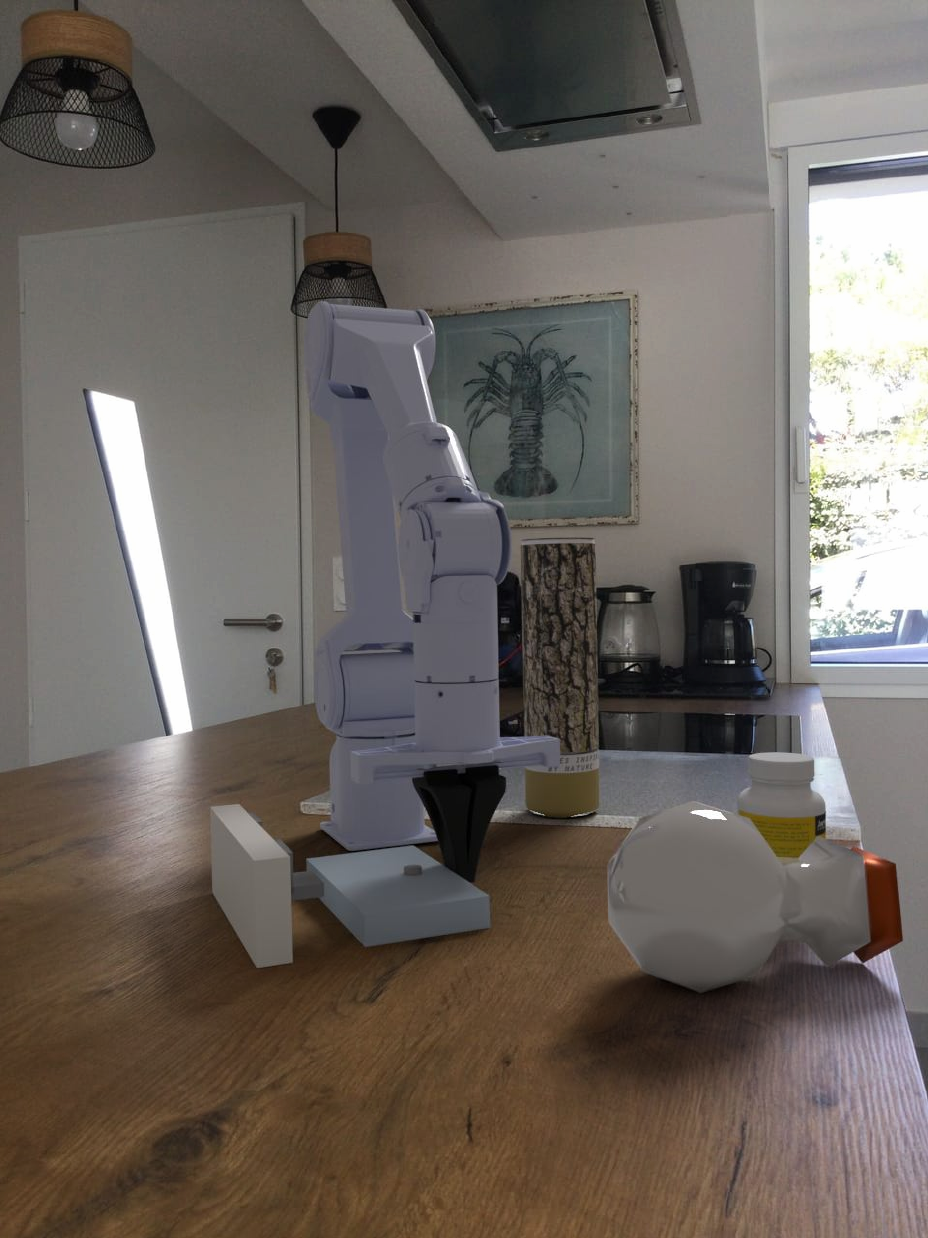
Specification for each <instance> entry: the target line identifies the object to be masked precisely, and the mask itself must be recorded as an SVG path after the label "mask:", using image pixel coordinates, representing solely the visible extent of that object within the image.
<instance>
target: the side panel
mask: <svg viewBox="0 0 928 1238" xmlns="http://www.w3.org/2000/svg"><path fill="white" fill-rule="evenodd" d="M209 814H210V815H209V817H210V818H209V819H210V820H209V822H210V824H209V825H210V849H211V850H210V851H211V852H210V854H211V855H210V856H211V858H210V859H211V887H212V889H211V890H212V891H211V892H212V894H213V896H214V898H215V900H216V902H217V903H218V905H219V906H220V909H221V910H222V911H223V913H224V915H225V917H226V919H227V920H228V921H229V923H230V925H231V927H232V928H233V930H234V932H235V933H236V935H237V937H238V939H239V940H240V942H241V944H242V946H243V947H244V948H245V950H246V952H247V954H248V955H249V957H250V959H251V961H252V962H253V964H254V966H255V967H256V968H257V969H261V968H262V969H263V968H268V967H273V966H274V967H275V966H282V965H287V964H293V958H294V957H293V929H292V928H293V927H292V926H293V924H292V923H293V922H292V921H293V920H292V918H293V916H292V915H293V914H292V901H301V900H308V899H316V898H318V897H324V883H323V882H322V881H321V880H320V879H319V878H318V877H317V876H316V875H315V874H314V873H313V872H312V871H307V870H306V871H297V872H294V857H293V855H294V853H293V851H292V850H291V849H290V848H289V846H288V845H287V844H285V842H284V841H283V840H282V839H281V838H277V839H274V838H273V837H272V836H271V835H270V834H269V833H268V832H267V831H266V830H265V829H264V828H263V821H262V820H261V819H260V818H259V817H258V816H257V815H256V814H255V813H254V812H248V811H246V809H244V807H243V806H242V805H241V804H239V803H235V804H234V803H233V804H227V805H225V804H223V805H214V806H209Z"/></svg>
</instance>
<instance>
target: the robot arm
mask: <svg viewBox="0 0 928 1238" xmlns="http://www.w3.org/2000/svg"><path fill="white" fill-rule="evenodd" d="M305 326H306V327H305V336H304V337H305V339H304V342H305V343H304V364H305V378H306V379H305V380H306V390H307V391H306V392H307V398H308V399H309V404H310V405H309V406H310V412H312V413H313V414H314V415H316V416H318V418H321V419H322V420H324V421H325V422H327V423H328V427H329V431H330V438H331V444H332V449H333V454H334V455H333V456H334V470H335V481H336V482H335V483H336V494H337V495H336V496H337V507H338V508H337V509H338V521H339V535H340V549H341V561H342V572H343V573H342V574H343V585H344V586H343V588H344V600H345V601H344V603H345V611H346V613H345V616H344V617H342V618H341V619H340V620H338V622H336V623H335V624H334V625H332V627H330V628H329V629H328V630H327V631H325V633H323V634H322V635H321V637H320V638H319V641H318V642H317V644H316V645H317V646H316V647H315V671H314V685H313V686H314V687H313V690H314V691H313V692H314V702H315V703H314V705H315V709H316V712H317V713H316V714H317V717H318V719H319V721H320V722H321V724H323V726H324V727H325V729H327V730H328V731H330V732H332V733H334V734H335V735H336V737H335V738H336V740H335V742H334V743H333V746H332V748H331V750H330V754H329V791H330V792H329V793H330V796H329V797H330V799H329V800H330V820H329V821H322V822H320V823H319V828H320V829H321V830H323V831H324V832H325V833H326V834H327V835H329V836H330V837H331V838H332V839H334V840H335V841H336V842H337V843H338V844H340V845H341V846H342V847H344V848H345V849H346V850H347V851H351V852H354V851H364V850H371V849H379V848H381V849H383V848H387V847H388V848H389V847H390V848H391V847H398V846H399V847H400V846H408V845H413V844H423V843H431V842H437V843H438V845H439V849H440V850H439V851H440V852H441V857H442V861H443V865H444V866H445V867H447V868H448V869H450V870H451V871H453V872H454V873H456V874H457V875H459V876H460V877H462V878H463V879H465V880H466V881H468V882H469V883H471V884H472V883H475V882H476V875H477V870H478V865H479V859H480V856H481V852H482V848H483V845H484V843H485V842H484V841H485V837H486V834H487V832H488V829H489V826H490V823H491V821H492V820H493V816H494V814H495V812H496V810H497V808H498V806H499V804H500V802H501V800H502V799H503V797H504V795H505V794H506V792H507V791H506V790H507V777H506V776H503V775H501V774H500V770H510V769H511V770H513V769H523V768H525V767H534V766H544V767H556V766H560V739H558V738H554V737H550V736H531V737H524V736H504V737H501V735H500V734H501V731H500V728H501V727H500V690H499V689H500V686H499V684H500V682H499V680H500V679H499V673H500V672H499V670H500V669H499V634H498V633H499V632H498V631H499V630H498V629H499V628H498V625H499V624H498V622H499V621H498V585H500V584H501V583H502V582H503V581H504V580H505V578H506V576H507V574H508V571H509V568H510V564H511V558H512V547H513V546H512V545H513V543H512V542H513V540H512V531H511V526H510V521H509V518H508V516H507V511H506V508H505V506H504V505H503V504H502V502H500V501H499V500H497V499H492V497H491V496H490V493H488V492H482V491H480V490H479V489H478V486H477V484H476V481H475V479H474V476H473V474H472V472H471V469H470V466H469V464H468V461H467V459H466V458H467V457H466V456H465V453H464V451H463V447H462V446H461V443H460V441H459V438H458V436H457V434H456V433H455V431H453V430H452V429H451V428H450V427H449V426H447V425H445V424H443V423H439V422H437V417H436V414H435V409H434V405H433V402H432V397H431V392H430V389H429V384H428V379H429V376H430V374H431V373H432V370H433V366H434V362H435V356H436V332H435V327H434V324H433V322H432V320H431V318H430V317H429V315H428V312H426V310H424V309H421V308H419V309H418V308H417V309H416V308H415V309H414V308H413V310H410V309H409V310H408V309H397V308H384V307H375V306H374V307H372V306H360V305H350V304H349V305H348V304H338V303H337V304H335V303H329V302H328V301H324V300H320V301H319V300H318V302H316V303H315V305H314V306H313V307H312V308H311V310H310V311H309V313H308V316H307V320H306V325H305ZM395 505H396V507H397V511H398V515H399V517H400V520H401V521H400V525H399V533H398V534H397V522H396V511H395ZM401 575H402V580H403V583H404V584H403V585H404V603H405V605H406V611H407V612H408V613H409V612H410V613H412V617H411V616H410V615H409V614H407V613H406V611H404V604H403V593H402V592H403V591H402V583H401V582H402V581H401ZM387 650H388V652H371V653H370V651H387ZM390 650H391V651H390ZM368 651H369V653H366V652H368ZM389 651H390V652H389ZM344 652H345V653H344ZM346 652H347V654H346ZM348 652H362V653H348ZM363 652H365V653H363ZM343 653H344V654H343ZM437 765H440V766H437ZM425 812H426V813H427V816H428V818H429V820H430V822H431V826H432V827H433V828H432V827H429V826H428V825H426V824H425Z"/></svg>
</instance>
